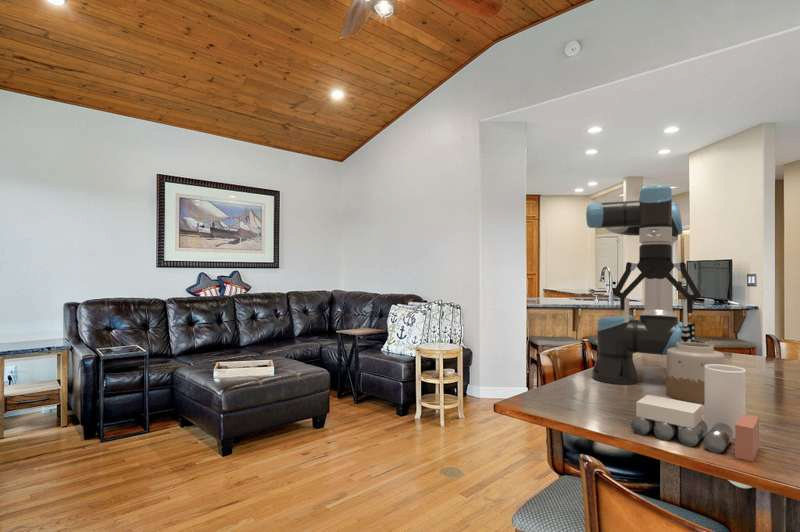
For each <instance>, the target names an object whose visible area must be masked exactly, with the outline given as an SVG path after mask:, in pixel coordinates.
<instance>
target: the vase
mask: <svg viewBox="0 0 800 532" xmlns="http://www.w3.org/2000/svg"><path fill="white" fill-rule="evenodd" d="M665 357H666V360H665V361H666V362H665V363H666V364H665V368H666V369H665V370H666V373H665V374H666V378H665V381H666V382H665V384H666V385H665V386H666V388H665V389H666V395H667V396H669V398H671V399H674V400H679V401H684V402H690V403H695V404H701V405H705V365H708V364H719V365H726V364H725V362H726V361H725V360H726V359H725V355H724V353H722V352H720V351H717V350H715V349H714V345H712V344H709V343H703V342H696V341H695V342H678V343H676V347H674V348H668V349H667V352H666V355H665Z"/></svg>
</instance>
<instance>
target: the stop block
mask: <svg viewBox="0 0 800 532" xmlns="http://www.w3.org/2000/svg"><path fill="white" fill-rule="evenodd" d="M734 440H735V442H734V446H735V447H734V452H735V453H734V458H735V459H739V460H744V461H747V462H752V463H753V462H754V460H755V458H756V456H757V454H758V451H759V449H760V417H759V416H755V415H748V414H746V415H744V414H742V416H741V417H740V419H739V420H738V421H737V423H736V424H735V439H734Z"/></svg>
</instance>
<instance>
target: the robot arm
mask: <svg viewBox="0 0 800 532" xmlns="http://www.w3.org/2000/svg"><path fill="white" fill-rule="evenodd" d="M672 193H673V192H672V187H671V186H669V185H665V184H656V185H648V186H644V187H642V188H641V189H640V190H639V198H638V200H626V201H625V200H624V201H614V202H613V201H612V202H597V203H596V202H594V203H590V204H588V205H587V206H586V213H585V214H586V216H585V217H586V225H587V227H588V228H589V229H602V228H603V229H604V228H605V229H606V230H607V232H610V233H612V234H613V233H614V234H616V235H617V234H618V235H622V236H623V235H624V236H630V237H631V236H633V237H634V236H639V244H641V245H639V246H638V247H639V250H638V251H639V253H638V255H639V257H638V259H639V260H638V263H633V262H630V261H628V262H626V264H625V265H626V266H625V271H624V272H623V274H622V276H621V278H620V279H619V281H618V282H617V285H616V286H615V288H614V290H613V291H612V295H613V296H615V297H618V298H619V301H620V302H619V303H620V304H619V308H620V310H621V311H622V310H623V311H624V314H623V315H622V314H620V315H608V316H607V315H606V316H603V317H600V318H599V319H598V321H597V329H596V331H597V357H596V360H595V363H594V366H593V369H592V372H591V373H592V375H591V377H592V379H593V380H596V381H599V382H603V383H607V384H614V385H633V384H634V385H635V384H637V383H639V374H638V371H637V368H636V366H635V362H634V356H633V355H634V353H637V354H639V353H640V354H650V355H659V356H666V352H667V349H668V348H674V347H676V343H678V342H680V341H681V335H682V327H683V326H687V322H688V314H692V313H693V309H694V308H693V305H694V300H697V299H700V298H701V297H702V295H701V293H700V291H699V289H698V287H697V286H696V284H695V282H694V280H693V279H692V278H691V275H690V274H689V272H688V271H687V270H688V269H687V264H686V262H684V261H681V262H676V263H673V261H674V260H673V259H674V258H673V257H674V254H673V253H674V252H673V250H674V249H673V245H674V243H675V242H676V241H678V240H679V239H678V238H679V236H680V235H682V234H683V225H682V224H683V223H682V217H681V210H680V207H679V204H677V203H678V202H677V203H676V202H674V201H673V194H672ZM636 268H637V269H638V270H639V272H640V273H639V274H638V275H637V277H636V278H635V279H634V280H633V281H632V282H631V283H630V284H629V285H628V286H627V287H626V288H625V289H624V290H623V292H621V291H622V289H623V287H624V286H625V284H626V282H627V280H628V279H629V277H630V275H631V273H632V271H635V270H636ZM674 268H675V269H676V270H677V271H678V272H681V274H682V276H683V278H684V279H685V281H686V283H687V285H688V286H689V288H690V290H691V292H692V293H693V294H690V293H689V292H688V291H687V290H686V289H685V287H683V286H682V284H681V283H680V282H679V281H678V280H677V279H676V278H675V277H674V276H673V272H674ZM643 280H644V309H643V311H642V312H641V313H640V314H639V319H634V316H633V315H630V298H629V297H628V295H629V294H630V293H632V291H633V290H634V289H636V288H637V286H638V285H639V284H640V283H641V282H642V281H643ZM673 287H674V288H675V289H677V291H678V292H679V293H680V294H681V295H682V296H683V297H684V298H685V299H686V300H683V308H682V309H683V316H682V317H683V320H682V321H679V316H678V315H676V313H674V310H673V308H674V307H673V304H674V301H673V299H674V297H673V294H674V293H673V292H674V290H673V289H674V288H673ZM682 322H683V323H682Z"/></svg>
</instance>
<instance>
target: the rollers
mask: <svg viewBox="0 0 800 532" xmlns="http://www.w3.org/2000/svg"><path fill="white" fill-rule="evenodd" d="M631 429H632V430H633V431H634V432H635V433H636V434H637V435H639V436H644V435H645V436H646V434H648V433H649V432H651V431H652V430H653V433H654V435H655V436H656V437H657V438H658V439H659V440H662V441H669V440H671V439H672V438H673V437H674V436H676V435H677V438H678V440H679V442H680V443H681V444H683V445H684V446H687V447H695V446H696V445H697V444H698V443H699V442H700V441H701V439H702V438H703V444H704V446H705V448H706V449H707V450H708V451H710V452H712V453H715V454H720V453H722V452H724V451H725V449H726V448H727V446H728V445H729V444H730V442H731V441H732V439H733V438H732V437H733V430H732V429H731V428H730V427H729V426H728V425H726V424H724V423H717V424H715V425H714V426H713V428H712V429H711V430H710V431H709V432H707V430H708V427H707V424H706V423H705V422H704V420H703V419H702V420H701V421H700V422H699V423H698V424H697V426H696V427H695V428H694V429H693V428H688V427H684V426H679V425H674V424H670V423H665V422H661V421H656V420H651V419H647V418H642V417H637V416H636V417H635V418H633V419H632V421H631Z"/></svg>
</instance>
